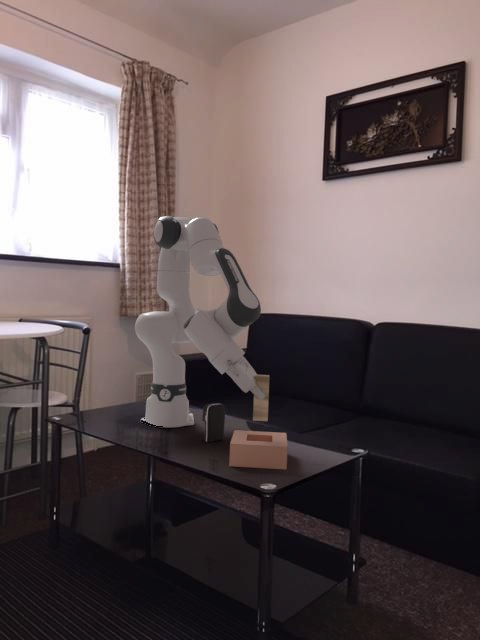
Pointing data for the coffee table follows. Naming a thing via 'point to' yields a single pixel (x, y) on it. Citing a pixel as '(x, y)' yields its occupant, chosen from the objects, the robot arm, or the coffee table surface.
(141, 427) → the coffee table surface
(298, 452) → the coffee table surface
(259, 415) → the maple pin
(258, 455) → the terracotta socket block
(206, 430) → the battery charger
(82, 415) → the coffee table surface
